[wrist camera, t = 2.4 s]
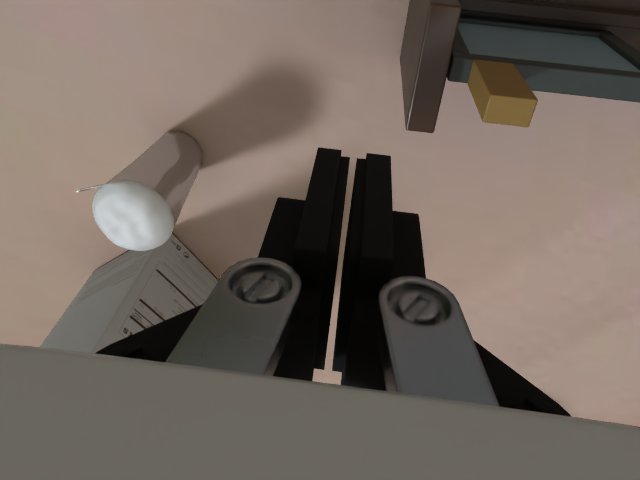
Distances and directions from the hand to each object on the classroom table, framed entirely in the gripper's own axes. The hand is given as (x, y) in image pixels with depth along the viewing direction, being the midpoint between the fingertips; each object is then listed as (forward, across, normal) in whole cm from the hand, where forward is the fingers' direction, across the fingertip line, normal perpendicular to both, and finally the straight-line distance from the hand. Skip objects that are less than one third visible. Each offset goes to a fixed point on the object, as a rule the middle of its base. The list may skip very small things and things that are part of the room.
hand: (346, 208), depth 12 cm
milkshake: (+21, +12, +9) cm, 26 cm away
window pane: (+19, -8, -1) cm, 20 cm away
